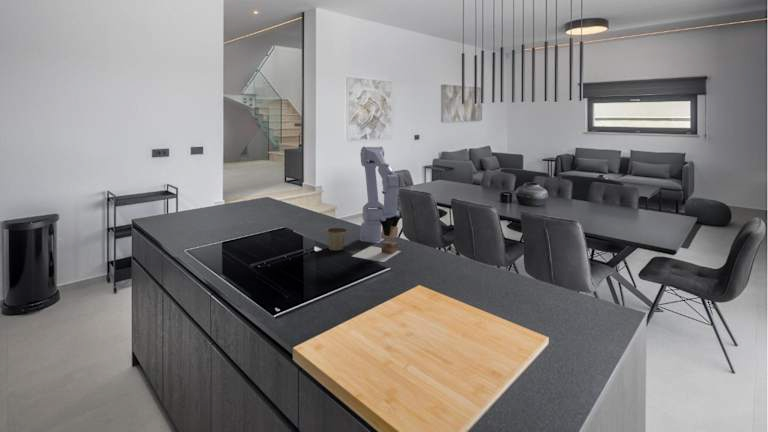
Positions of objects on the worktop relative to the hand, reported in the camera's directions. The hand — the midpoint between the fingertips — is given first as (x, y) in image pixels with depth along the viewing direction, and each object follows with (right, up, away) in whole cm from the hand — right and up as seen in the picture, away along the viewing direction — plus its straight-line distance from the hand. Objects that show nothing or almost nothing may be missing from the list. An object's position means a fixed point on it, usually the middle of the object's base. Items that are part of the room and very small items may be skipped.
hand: (389, 234), depth 183 cm
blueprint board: (-6, -9, -1) cm, 10 cm away
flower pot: (-23, -7, +5) cm, 25 cm away
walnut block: (0, -8, +2) cm, 8 cm away
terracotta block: (0, -1, 0) cm, 1 cm away
